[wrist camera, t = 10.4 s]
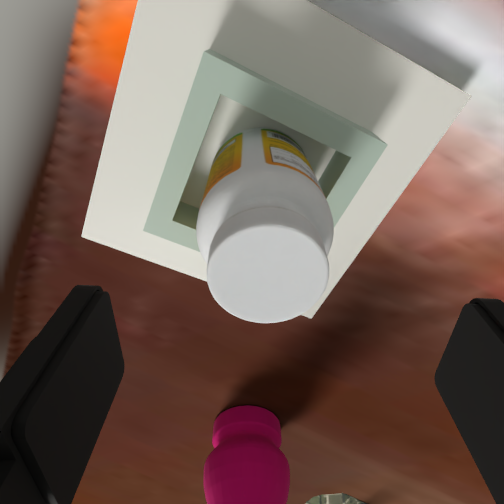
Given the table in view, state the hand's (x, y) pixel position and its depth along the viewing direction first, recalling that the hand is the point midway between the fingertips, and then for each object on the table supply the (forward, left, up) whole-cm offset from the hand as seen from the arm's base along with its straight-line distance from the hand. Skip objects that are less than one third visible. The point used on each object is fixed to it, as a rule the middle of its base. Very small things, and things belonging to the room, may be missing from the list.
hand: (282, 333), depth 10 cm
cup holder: (+1, 0, -13) cm, 13 cm away
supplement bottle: (0, 0, -12) cm, 12 cm away
